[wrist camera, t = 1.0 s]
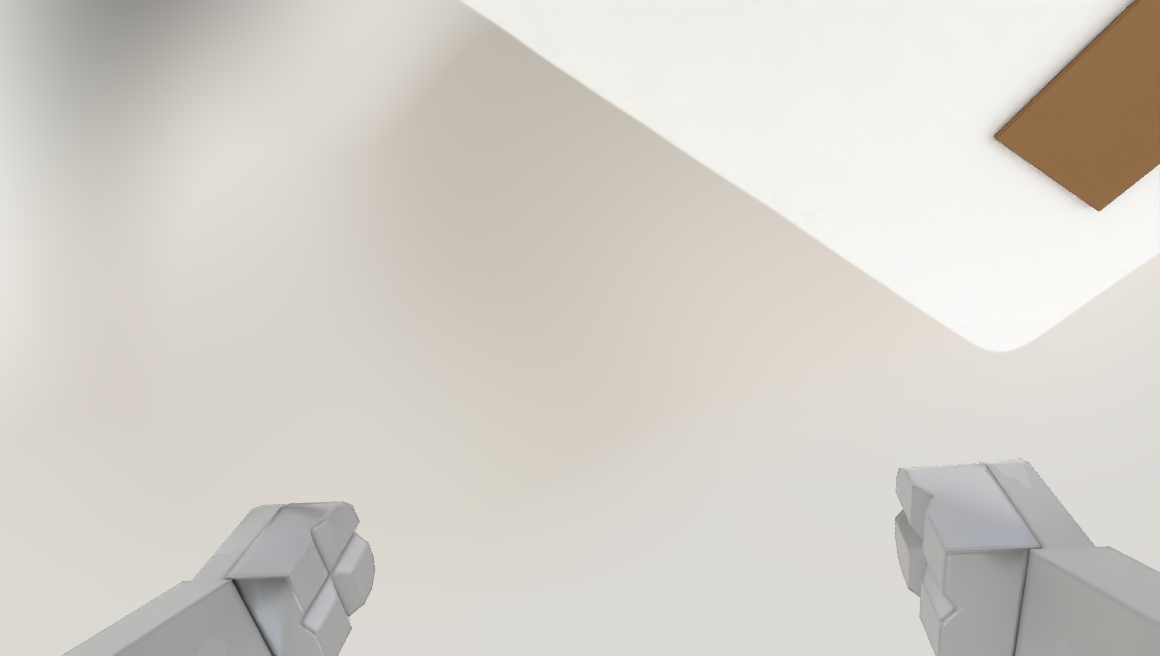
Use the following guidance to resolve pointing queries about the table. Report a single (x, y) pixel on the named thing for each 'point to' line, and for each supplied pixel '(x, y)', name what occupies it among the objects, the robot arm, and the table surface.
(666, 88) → the table surface
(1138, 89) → the cork mat
